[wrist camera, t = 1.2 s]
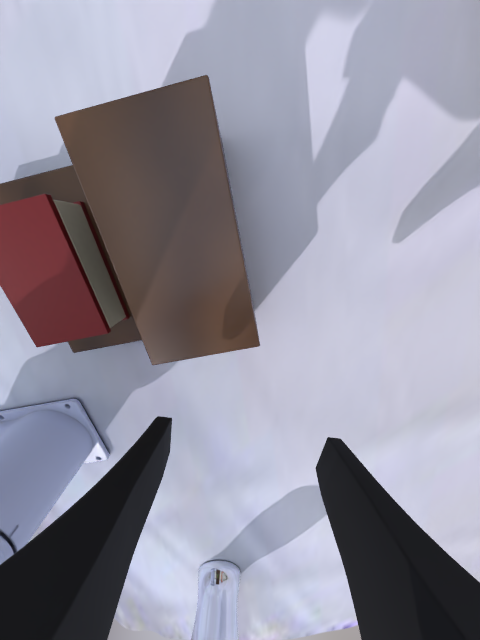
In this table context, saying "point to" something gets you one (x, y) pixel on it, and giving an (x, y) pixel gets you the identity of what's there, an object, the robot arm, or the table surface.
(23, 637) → the robot arm
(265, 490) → the table surface
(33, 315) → the red hardcover book
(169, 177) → the book rack
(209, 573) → the beer glass
